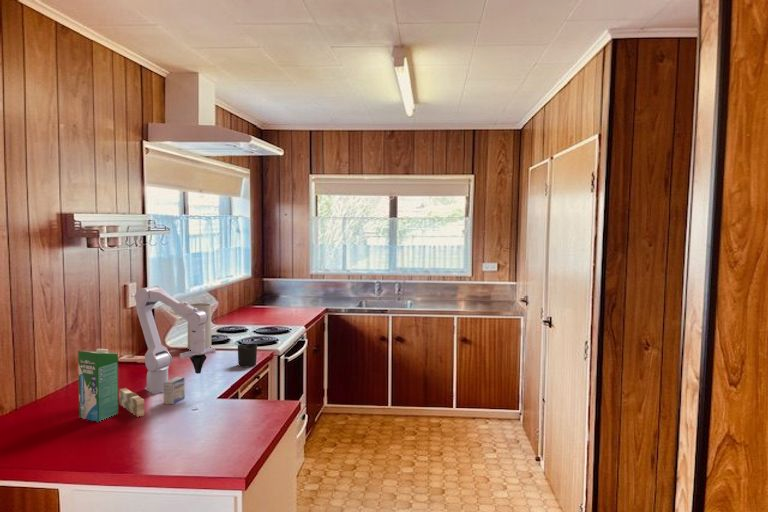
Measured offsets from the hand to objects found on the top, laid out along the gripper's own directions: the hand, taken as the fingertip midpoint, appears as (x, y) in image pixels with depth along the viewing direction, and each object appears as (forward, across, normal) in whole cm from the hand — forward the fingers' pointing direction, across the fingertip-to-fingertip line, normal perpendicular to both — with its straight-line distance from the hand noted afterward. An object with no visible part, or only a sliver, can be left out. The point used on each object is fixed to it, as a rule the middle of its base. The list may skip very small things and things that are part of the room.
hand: (198, 373), depth 215 cm
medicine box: (+10, -10, 0) cm, 14 cm away
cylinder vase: (+10, +37, +73) cm, 82 cm away
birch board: (+9, -26, +1) cm, 28 cm away
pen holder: (+10, +39, +27) cm, 49 cm away
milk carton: (+10, -37, +2) cm, 38 cm away
